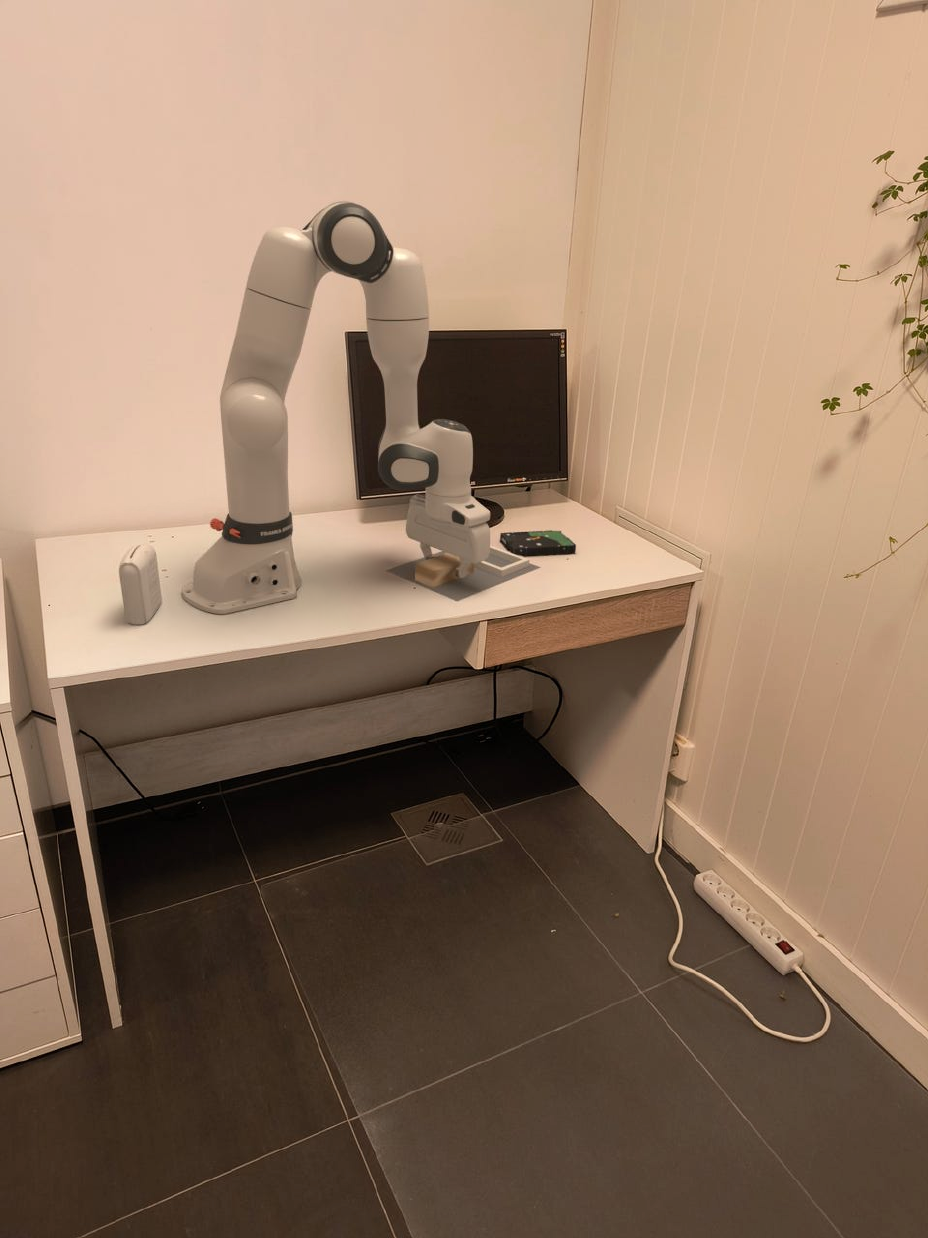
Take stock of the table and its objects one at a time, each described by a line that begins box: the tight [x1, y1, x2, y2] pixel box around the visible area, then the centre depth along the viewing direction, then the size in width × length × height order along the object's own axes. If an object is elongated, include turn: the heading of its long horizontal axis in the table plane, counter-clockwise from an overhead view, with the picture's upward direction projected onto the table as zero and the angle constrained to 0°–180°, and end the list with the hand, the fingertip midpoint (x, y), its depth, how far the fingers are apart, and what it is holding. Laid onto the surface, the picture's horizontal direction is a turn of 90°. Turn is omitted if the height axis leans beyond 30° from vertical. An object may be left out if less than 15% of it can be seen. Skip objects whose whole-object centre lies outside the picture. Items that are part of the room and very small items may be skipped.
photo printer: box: [118, 542, 163, 626], centre depth 140 cm, size 10×4×12 cm, turn 3°
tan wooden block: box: [415, 553, 474, 588], centre depth 163 cm, size 12×5×4 cm, turn 137°
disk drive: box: [499, 529, 577, 558], centre depth 182 cm, size 10×3×15 cm
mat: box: [385, 544, 541, 602], centre depth 167 cm, size 26×20×2 cm
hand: (444, 570), depth 163 cm, fingers open, 7 cm apart
